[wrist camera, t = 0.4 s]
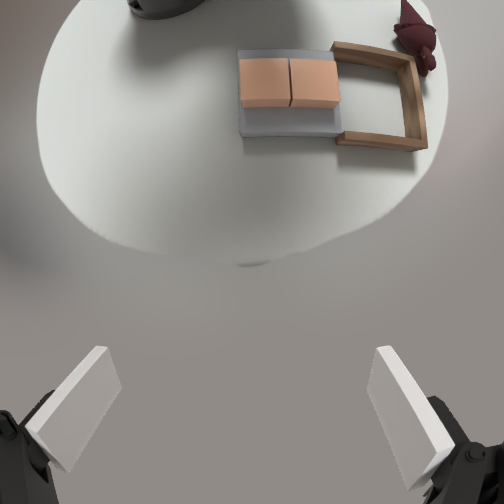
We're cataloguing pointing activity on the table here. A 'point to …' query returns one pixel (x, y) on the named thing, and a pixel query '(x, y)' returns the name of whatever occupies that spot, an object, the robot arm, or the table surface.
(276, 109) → the board
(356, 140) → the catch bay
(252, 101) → the tile
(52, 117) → the table surface
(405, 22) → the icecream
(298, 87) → the tile
